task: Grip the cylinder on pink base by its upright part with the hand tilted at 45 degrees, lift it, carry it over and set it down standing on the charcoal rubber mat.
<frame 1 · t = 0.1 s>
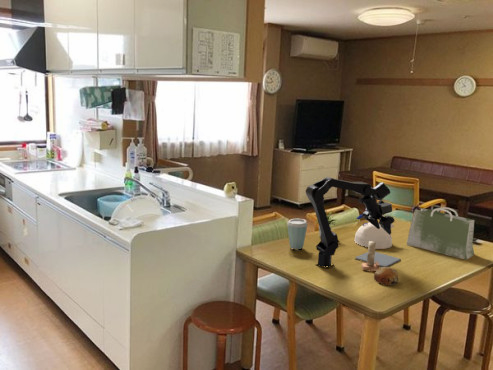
hand: (384, 231, 214), 15 cm above the table, tool tilted 35°, fingers open, 9 cm apart
kettle: (373, 243, 245), on the table
cylinder on pink base: (369, 269, 205), on the table
disposable coffee cup: (295, 248, 231), on the table
bread roll: (386, 282, 192), on the table
mat: (377, 259, 218), on the table
grocery bag: (439, 249, 238), on the table
house plant: (322, 238, 250), on the table
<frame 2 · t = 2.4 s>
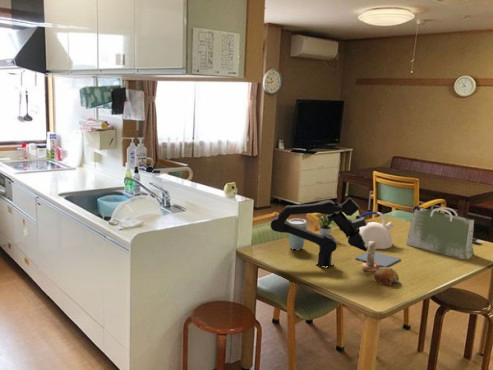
hand: (365, 247, 203), 10 cm above the table, tool tilted 45°, fingers open, 9 cm apart
nothing on the table moved.
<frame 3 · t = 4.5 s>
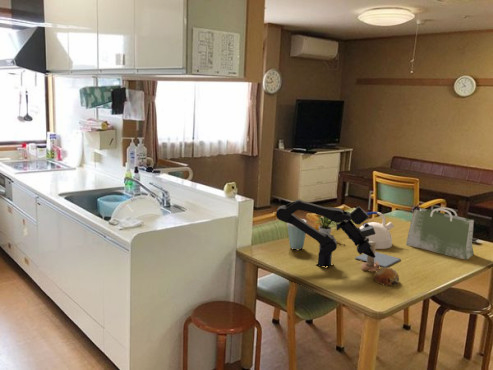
hand: (374, 255, 203), 7 cm above the table, tool tilted 45°, fingers closed on cylinder on pink base, 3 cm apart
cylinder on pink base: (369, 269, 205), on the table, touching gripper
everything else where it was.
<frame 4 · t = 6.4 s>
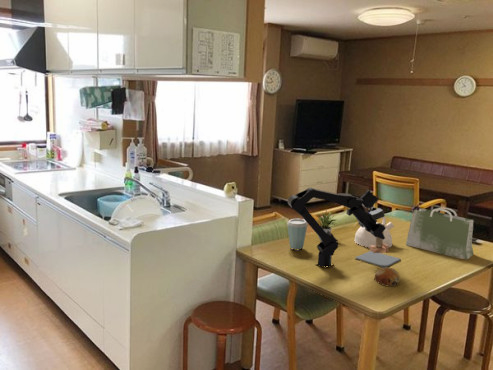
hand: (382, 237, 209), 13 cm above the table, tool tilted 45°, fingers closed on cylinder on pink base, 3 cm apart
cylinder on pink base: (378, 251, 210), point 7 cm above the table, touching gripper
everything else where it was.
when the fingers open (9 cm above the table, at t = 8.4 s): cylinder on pink base drops 1 cm, resting on mat.
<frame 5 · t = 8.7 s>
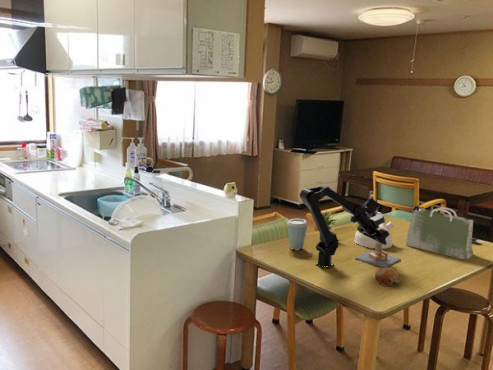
hand: (381, 242, 217), 9 cm above the table, tool tilted 45°, fingers open, 6 cm apart
cylinder on pink base: (377, 258, 218), point 1 cm above the table, touching mat
everything else where it was.
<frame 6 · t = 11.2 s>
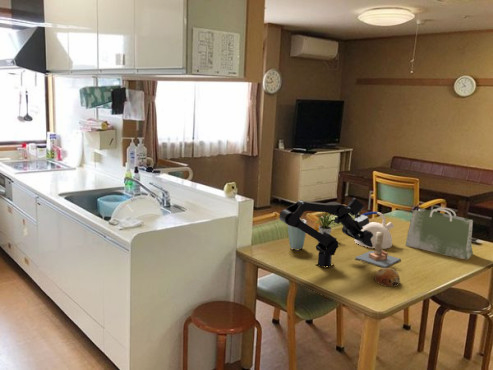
hand: (366, 243, 214), 9 cm above the table, tool tilted 45°, fingers open, 9 cm apart
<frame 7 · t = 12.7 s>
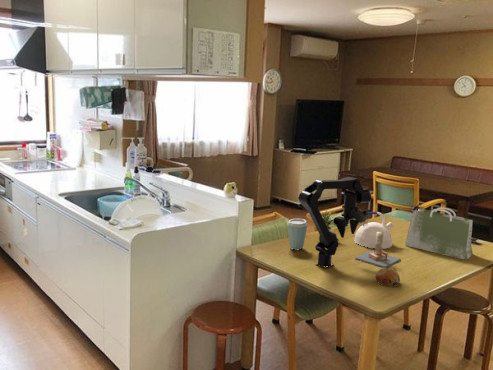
hand: (347, 235, 211), 13 cm above the table, tool pointing down, fingers open, 9 cm apart
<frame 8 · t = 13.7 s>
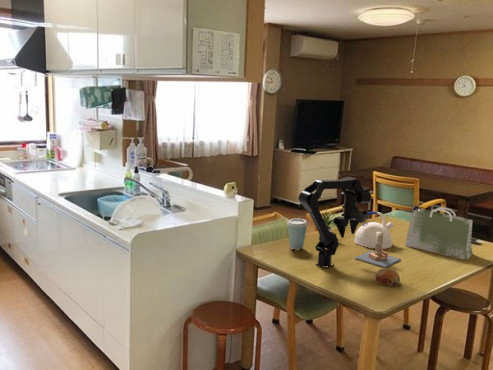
hand: (347, 235, 211), 13 cm above the table, tool pointing down, fingers open, 9 cm apart
at the end: cylinder on pink base inside the target area on the mat (0.1 cm from its centre), point 0.8 cm above the mat's base; cylinder on pink base tilted 0°; the gripper is holding nothing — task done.
